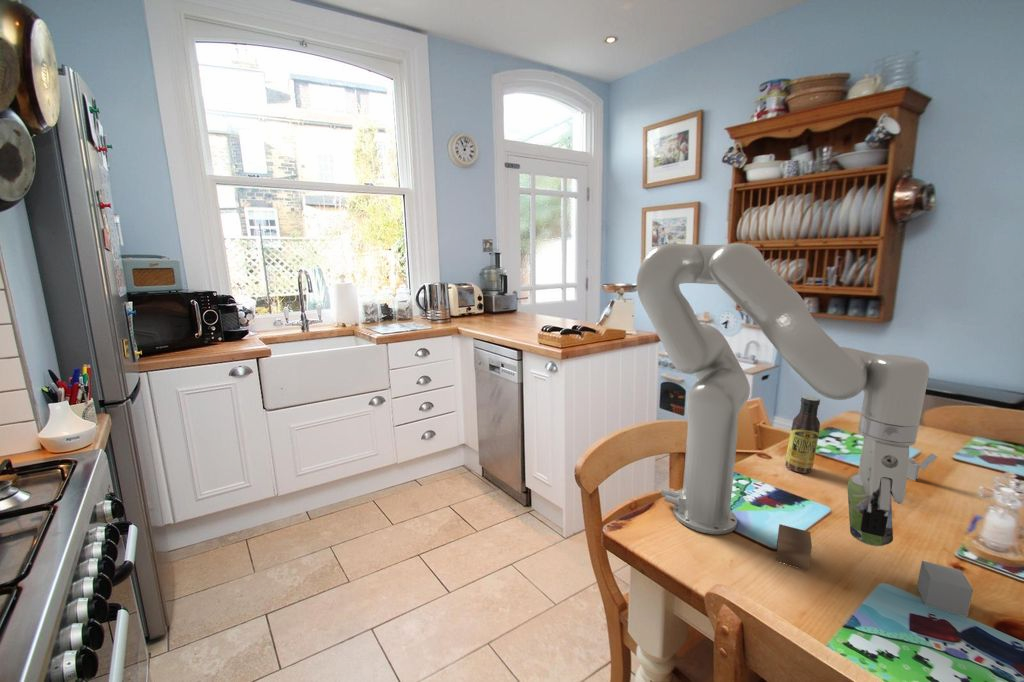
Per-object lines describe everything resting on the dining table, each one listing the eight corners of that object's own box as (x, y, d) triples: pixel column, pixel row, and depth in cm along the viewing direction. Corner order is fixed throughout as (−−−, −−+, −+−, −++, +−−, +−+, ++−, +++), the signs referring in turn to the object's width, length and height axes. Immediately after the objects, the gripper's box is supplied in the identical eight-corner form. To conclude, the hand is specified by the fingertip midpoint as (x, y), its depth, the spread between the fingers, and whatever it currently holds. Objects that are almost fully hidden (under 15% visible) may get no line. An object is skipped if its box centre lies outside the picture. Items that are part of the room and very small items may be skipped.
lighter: (894, 474, 117) (899, 445, 115) (897, 473, 118) (902, 444, 116) (930, 486, 111) (936, 456, 109) (932, 484, 112) (938, 454, 110)
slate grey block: (925, 605, 73) (930, 578, 72) (916, 586, 78) (921, 560, 77) (966, 617, 71) (973, 589, 70) (955, 597, 75) (961, 570, 74)
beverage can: (899, 552, 77) (911, 489, 75) (851, 548, 79) (861, 486, 76) (878, 530, 84) (887, 471, 81) (833, 526, 85) (842, 468, 82)
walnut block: (776, 562, 83) (779, 537, 82) (776, 547, 88) (779, 524, 87) (808, 571, 81) (812, 546, 80) (806, 555, 85) (810, 531, 84)
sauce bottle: (787, 472, 118) (796, 399, 114) (782, 462, 124) (791, 392, 120) (816, 476, 116) (827, 402, 112) (810, 466, 121) (820, 395, 118)
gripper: (931, 452, 67) (909, 561, 70) (903, 417, 81) (886, 510, 84) (868, 441, 70) (850, 546, 74) (852, 410, 84) (837, 499, 88)
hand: (869, 526), depth 79 cm, fingers closed on beverage can, 3 cm apart
